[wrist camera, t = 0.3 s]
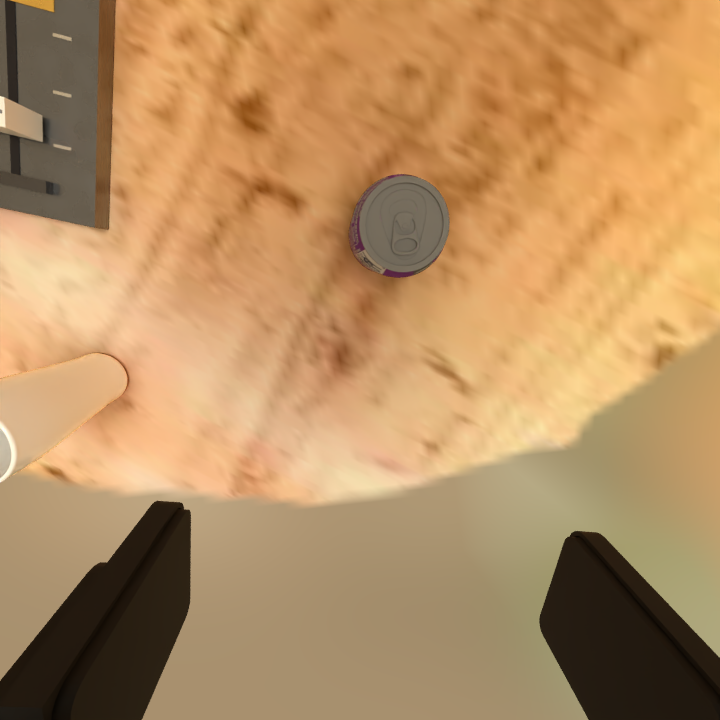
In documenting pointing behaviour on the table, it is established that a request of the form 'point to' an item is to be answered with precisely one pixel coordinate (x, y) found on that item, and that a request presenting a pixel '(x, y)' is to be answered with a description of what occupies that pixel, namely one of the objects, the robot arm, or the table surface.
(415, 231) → the beverage can
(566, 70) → the table surface
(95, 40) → the console
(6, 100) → the fader
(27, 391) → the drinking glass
